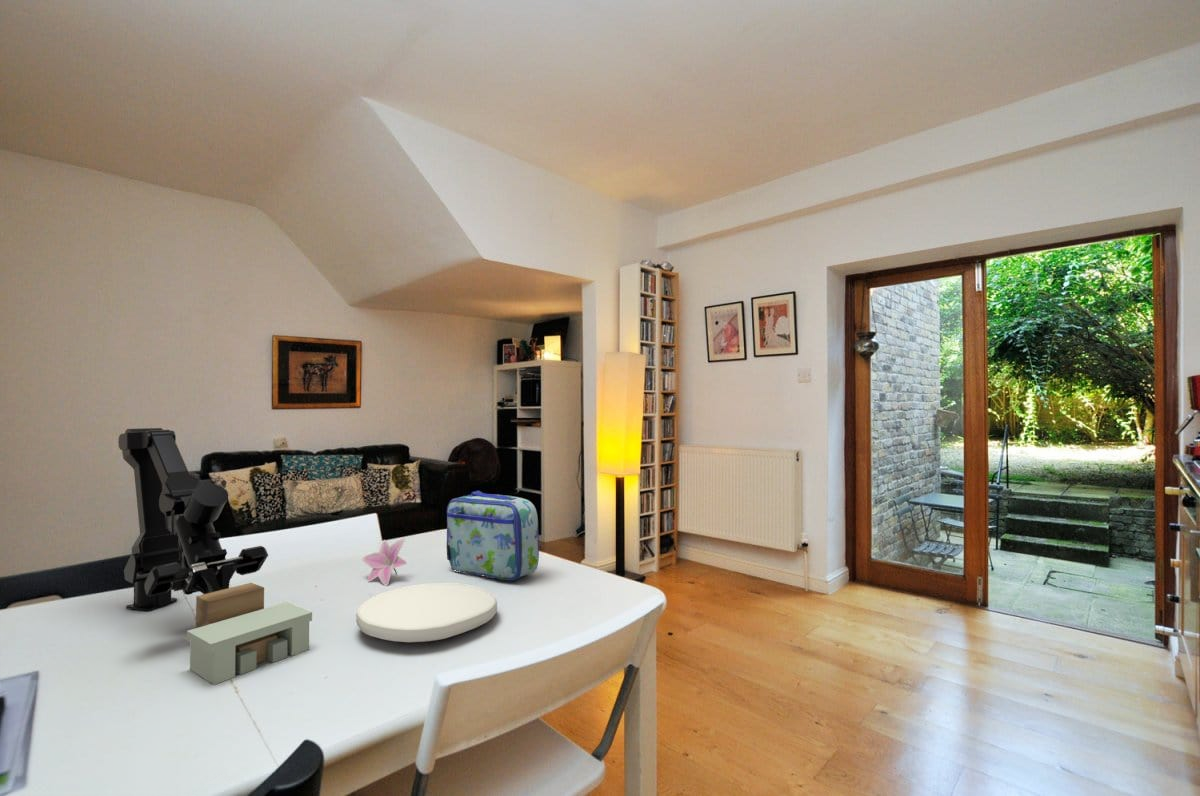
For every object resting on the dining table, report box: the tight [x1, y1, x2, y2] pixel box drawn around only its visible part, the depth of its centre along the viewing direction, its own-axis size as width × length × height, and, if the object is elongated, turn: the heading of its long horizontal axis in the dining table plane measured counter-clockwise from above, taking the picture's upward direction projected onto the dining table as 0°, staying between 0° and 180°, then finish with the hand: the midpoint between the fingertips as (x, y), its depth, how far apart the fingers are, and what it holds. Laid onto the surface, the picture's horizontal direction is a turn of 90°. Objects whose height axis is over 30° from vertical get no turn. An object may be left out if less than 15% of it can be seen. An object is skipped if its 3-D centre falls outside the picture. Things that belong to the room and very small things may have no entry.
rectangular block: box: [195, 582, 277, 664], centre depth 97 cm, size 13×9×10 cm
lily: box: [361, 538, 408, 586], centre depth 139 cm, size 12×12×10 cm
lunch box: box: [446, 490, 540, 582], centre depth 143 cm, size 26×11×21 cm, turn 58°
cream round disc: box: [355, 582, 498, 643], centre depth 111 cm, size 28×6×27 cm
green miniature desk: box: [186, 601, 313, 685], centre depth 95 cm, size 9×16×6 cm, turn 146°
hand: (223, 607), depth 101 cm, fingers closed
